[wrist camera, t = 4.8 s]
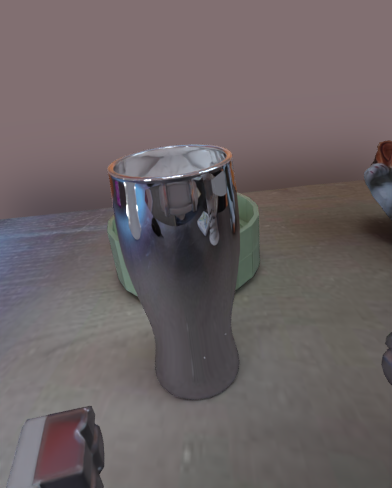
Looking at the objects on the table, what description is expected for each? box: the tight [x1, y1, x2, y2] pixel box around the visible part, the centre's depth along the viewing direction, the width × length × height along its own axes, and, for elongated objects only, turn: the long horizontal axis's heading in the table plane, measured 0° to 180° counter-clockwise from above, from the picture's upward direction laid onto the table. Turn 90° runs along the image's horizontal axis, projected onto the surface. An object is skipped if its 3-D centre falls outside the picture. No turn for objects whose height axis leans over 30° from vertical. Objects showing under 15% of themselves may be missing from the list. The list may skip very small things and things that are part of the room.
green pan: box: [107, 193, 260, 296], centre depth 36 cm, size 15×15×6 cm
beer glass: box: [107, 144, 240, 400], centre depth 22 cm, size 7×7×15 cm
